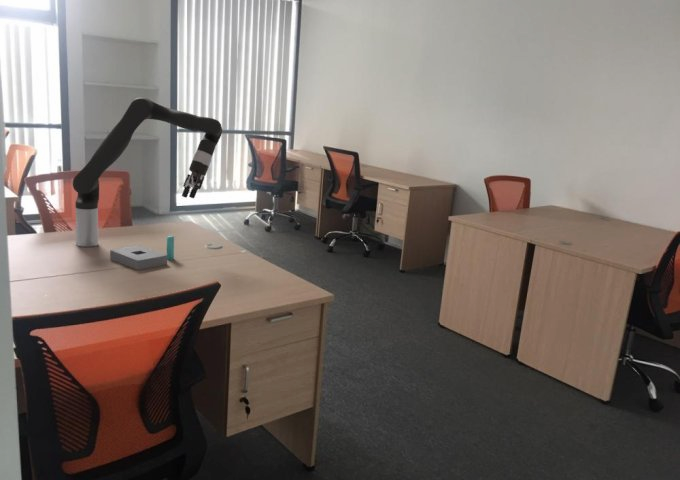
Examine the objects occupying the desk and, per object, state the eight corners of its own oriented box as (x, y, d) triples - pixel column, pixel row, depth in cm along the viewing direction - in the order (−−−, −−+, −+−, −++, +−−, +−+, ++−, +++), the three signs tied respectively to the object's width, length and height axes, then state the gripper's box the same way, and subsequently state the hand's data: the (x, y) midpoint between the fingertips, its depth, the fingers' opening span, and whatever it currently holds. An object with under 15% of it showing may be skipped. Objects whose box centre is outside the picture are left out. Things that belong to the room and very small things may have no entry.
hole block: (110, 259, 249) (110, 250, 248) (139, 254, 260) (139, 245, 259) (137, 270, 238) (137, 260, 237) (167, 264, 248) (167, 255, 247)
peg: (165, 258, 256) (165, 236, 254) (170, 257, 259) (171, 235, 256) (169, 260, 255) (169, 237, 252) (175, 259, 257) (175, 236, 255)
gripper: (187, 159, 262) (174, 193, 260) (199, 159, 250) (186, 194, 248) (201, 166, 266) (189, 200, 264) (214, 166, 255) (201, 201, 252)
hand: (187, 197), depth 256 cm, fingers open, 8 cm apart
